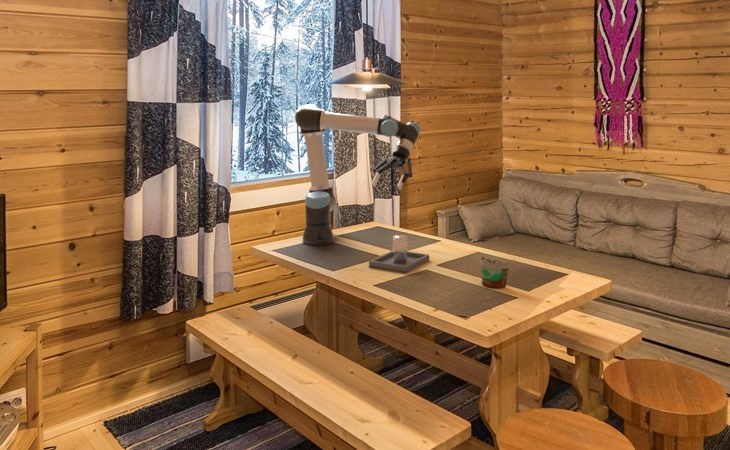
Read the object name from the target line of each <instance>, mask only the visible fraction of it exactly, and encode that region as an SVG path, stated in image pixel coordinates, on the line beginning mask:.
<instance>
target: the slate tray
mask: <svg viewBox="0 0 730 450" xmlns="http://www.w3.org/2000/svg"><path fill="white" fill-rule="evenodd" d="M429 261H430V254H427V253H421V252H413V251H408V250H407V263H404V264H396V263H393V250H390V251H388V252H386V253H384V254H382V255H380V256H377V257H376V258H373V259H370V260H369V261H368V267H369V268H372V269H380V270H383V271H384V270H385V271H389V272H396V273H402V274H407V273H408V272H410V271H413V270H414V269H416V268H418V267H419V266H422V265H424V264H425V263H427V262H429Z"/></svg>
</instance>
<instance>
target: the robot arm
mask: <svg viewBox="0 0 730 450" xmlns="http://www.w3.org/2000/svg"><path fill="white" fill-rule="evenodd" d="M294 120H295V123H296V125H297V127H299V128H300V134H301V136H303V137H304V141H305V147H306V155H307V156H306V157H307V163H308V169H309V170H308V171H309V176H310V178H309V179H310V184H311V186H310V187H309V189H308V193H307V194H306V195H305V200H304V203H305V229H304V231H303V235H302V243H303V244H306V245H311V246H324V245H325V246H326V245H330V244H333V243H334V242H335V236H334V233H333V229H332V227H331V212H332V211H333V210H334V209H335V206H336V203H337V200H336V196H335V194H334V189H333V185H331V184H330V182H329V176H328V169H327V160H326V154H325V152H326V151H325V144H324V139H323V135H324V133H325V131H326V130H333V131H343V132H349V133H350V132H352V133H359V134H360V133H362V134H368V135H369V134H371V135H378V136H384V137H386V138H390V137H391V138H392V137H395V138H396V139H397V138H398V142H397V144H396V145H395V147H394V149H393V152H392V155H391V157H389V156H387V155H386V156H384V158H383V159H382V160H381V161H380V162H378V164H377V165H376V166H374V168H372V172H373V173H374V174H373V176H372V182H371V185H372V187H373V188H374V187H376V186H377V183H378V181H379V179H380V177H381V174H383V173H384V172H386V171H388V170H389V169H392V168H401V170H402V173H403V174H402V175H401V177H400V179H399V180H398V183H397V189H398V190H399V191H400V190H402V187H403V185H404V184H405V183H406V182H407V180H408V178H413V170H412V169H413V168H412V164H413V161H412V158H410V157H409V156H410V154H411V152H412V151H413V148H414V146H415V145H416V141H417V140H418V138H419V135H420V132H421V130H422V129H421V126H420V125H419V123H417V122H415V121H414V122H413V121H409V122H407V123H404V122H402V121H400V120H397V118H393V117H392V116H390V115H387V114H383V115H382V117H381V118H379V117H370V116H362V115H354V114H353V115H352V114H347V113H346V114H345V113H337V112H336V113H335V112H328V111H325V109H322V108H321V107H320V106H319V105H317V104H314V103H308V104H304V105H301V106H300V107H298V109H297V110H296V111H295V115H294ZM405 164H406V166H407V170H406V168H405V166H404V165H405Z"/></svg>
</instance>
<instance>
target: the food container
mask: <svg viewBox="0 0 730 450" xmlns="http://www.w3.org/2000/svg"><path fill="white" fill-rule="evenodd" d="M478 264H479V266H480V268H481V270H480V271H481V285H482V286H483V287H485V288H488V289H498V290H499V289H504V288H506V286H507V280H508V272H509V269H510V268H511V266H510V262H509V261H507V262H501V261H498V260H494V259H493V260H492V259H487V258H485V256H482V257H480V259H479V263H478Z"/></svg>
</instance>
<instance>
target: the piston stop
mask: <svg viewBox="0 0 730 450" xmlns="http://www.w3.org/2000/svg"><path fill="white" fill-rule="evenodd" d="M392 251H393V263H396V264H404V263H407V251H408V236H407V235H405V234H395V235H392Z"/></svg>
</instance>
